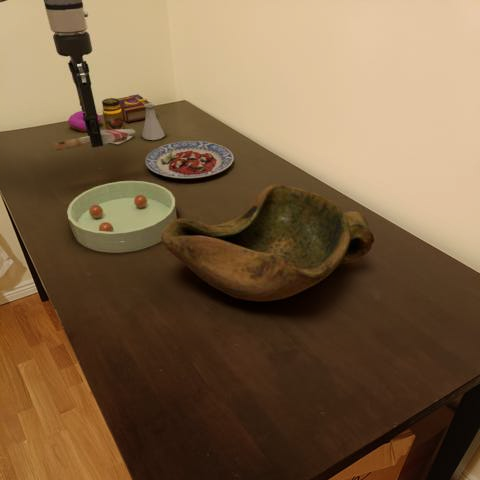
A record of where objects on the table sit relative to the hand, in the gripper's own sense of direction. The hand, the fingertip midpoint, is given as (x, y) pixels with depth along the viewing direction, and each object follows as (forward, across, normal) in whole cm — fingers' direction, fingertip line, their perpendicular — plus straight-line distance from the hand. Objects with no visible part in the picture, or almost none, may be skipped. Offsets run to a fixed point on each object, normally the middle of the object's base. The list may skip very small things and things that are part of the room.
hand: (96, 142), depth 107 cm
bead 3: (+10, -14, -6) cm, 19 cm away
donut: (+13, +50, -2) cm, 51 cm away
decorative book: (+13, +56, -20) cm, 61 cm away
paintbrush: (+1, 0, 0) cm, 1 cm away
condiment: (+13, +36, -9) cm, 39 cm away
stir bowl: (+13, -19, -1) cm, 23 cm away
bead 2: (+10, -24, +4) cm, 27 cm away
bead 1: (+10, -15, +5) cm, 19 cm away
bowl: (+13, -53, -25) cm, 60 cm away
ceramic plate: (+13, +6, -26) cm, 29 cm away
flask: (+13, +32, -21) cm, 41 cm away
